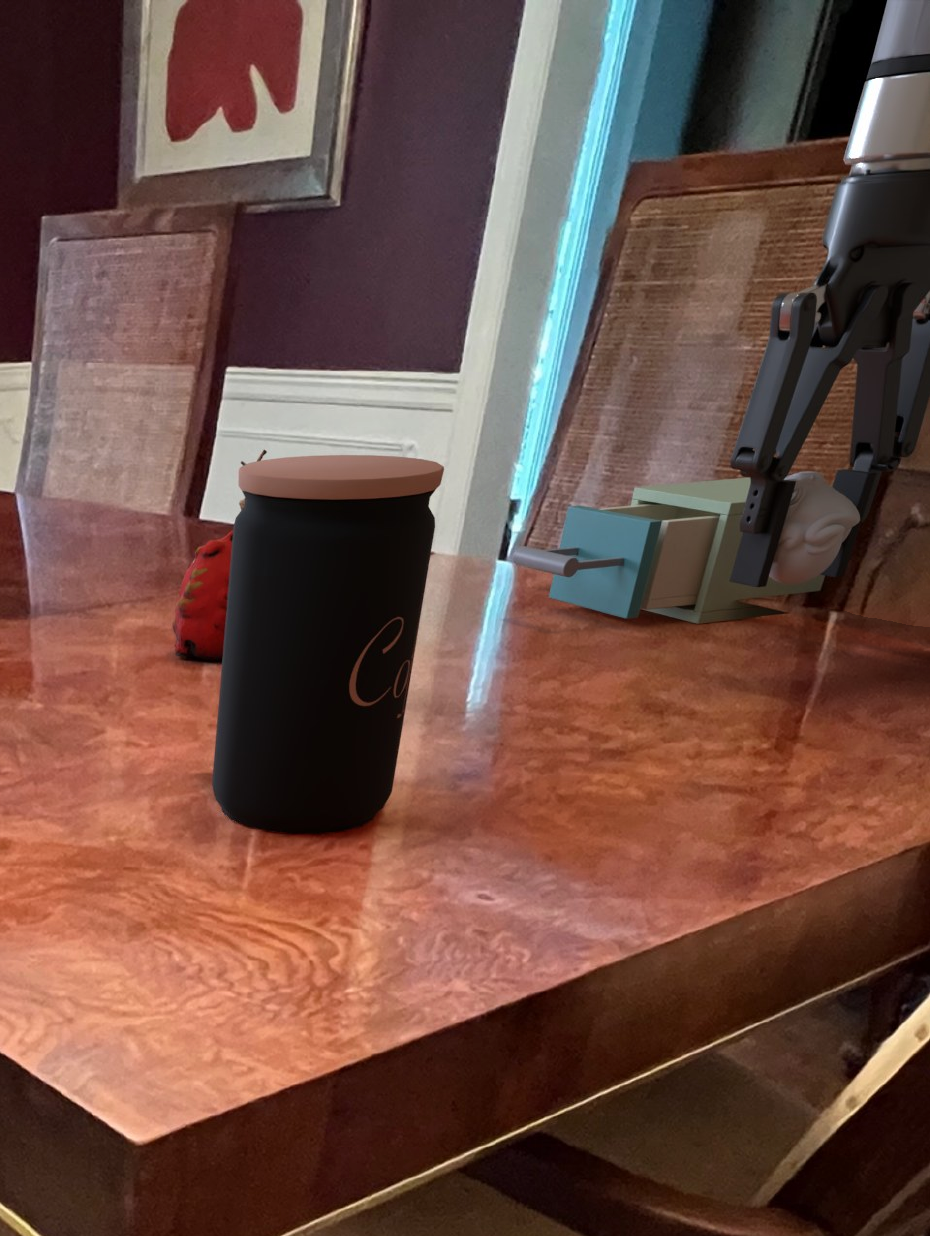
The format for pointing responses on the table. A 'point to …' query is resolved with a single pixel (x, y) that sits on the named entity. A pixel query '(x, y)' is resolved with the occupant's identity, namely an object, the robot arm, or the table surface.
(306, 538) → the coffee jar
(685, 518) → the drawer
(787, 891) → the table surface
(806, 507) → the frog figurine
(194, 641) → the red clay folk toy
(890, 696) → the table surface
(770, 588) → the cabinet
